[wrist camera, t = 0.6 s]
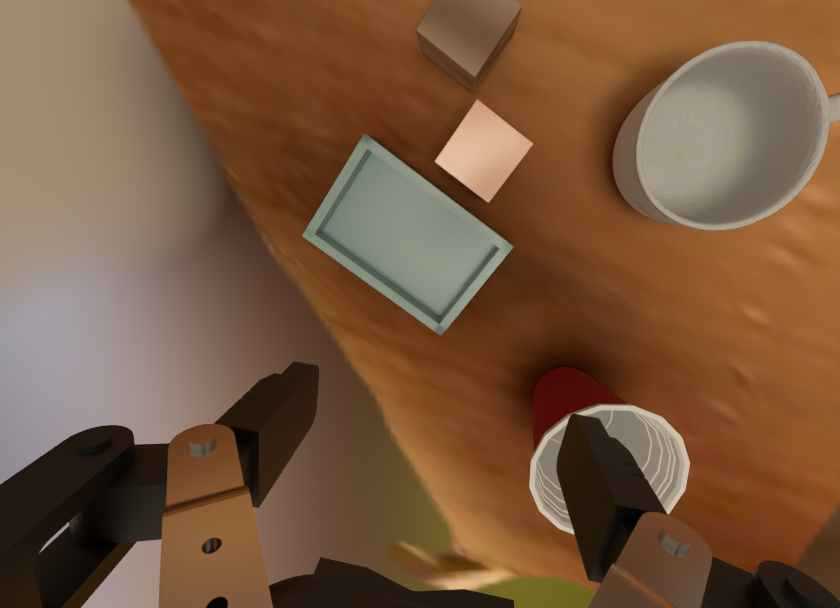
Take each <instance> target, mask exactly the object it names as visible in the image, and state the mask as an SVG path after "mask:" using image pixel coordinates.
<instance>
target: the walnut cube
mask: <svg viewBox="0 0 840 608" xmlns="http://www.w3.org/2000/svg"><path fill="white" fill-rule="evenodd" d="M522 6H523V5H522V4H521V3H519V2H518V1H517V0H434V1H433V2H432V4H431V6H430V7H429V9H428V11H427V12H426V14H425V16H424V17H423V19H422V21H421V22H420V24H419V26H418V27H417V29H416V32H417V35H418V39H419V42H420V46H421V49H422V52H423V54H424V55H425V56H426V57H427V58H429V59H430V60H431V61H432V62H434V63H435V64H436V65H437V66H439V67H440V68H441V69H442V70H444V71H445V72H446V73H447V74H449V75H450V76H451V77H452V78H454V79H455V80H456V81H458V82H459V83H460V84H461V85H463V86H464V87H465V88H466V89H468V90H469V91H470V92H471V93H474V91H475V90H476V88H477V87H478V86H479V84H480V83H481V81H482V80H483V78H484V77H485V75H486V74H487V72H488V71H489V69H490V68H491V66H492V65H493V63H494V62H495V60H496V59H497V57H498V56H499V54H500V53H501V52H502V50H503V49H504V47H505V46H506V44H507V43H508V41H509V40H510V38H511V37H512V35H513V33H514V30H515V27H516V24H517V21H518V18H519V15H520V12H521V9H522Z"/></svg>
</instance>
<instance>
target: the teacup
mask: <svg viewBox="0 0 840 608" xmlns="http://www.w3.org/2000/svg"><path fill="white" fill-rule="evenodd" d="M838 121H840V93H837V94H834V95H831V96H827V93H826V91H825V88H824V86H823V84H822V82H821V81H820V79H819V76H818V74H817V72H816V71H815V69H814V68H813V67H812V66H811V64H810V63H809V62H808V61H807V60H806V59H804V58H803V57H802V56H800V55H799V54H797V53H796V52H794V51H793V50H791V49H789V48H787V47H784V46H781V45H779V44H775V43H771V42H765V41H738V42H732V43H727V44H723V45H720V46H717V47H714V48H712V49H710V50H707V51H705V52H703V53H701V54H699V55H697V56H696V57H694V58H692V59H691V60H689V61H687V62H686V63H685V64H684V65H682V66H681V67H680V68H678V69H677V70H676V71H675V72H674V73H673V74H672V75H671V76H670V77H669V78H667V79H666V80H664V81H663V82H662V83H660V84H659V85H658V86H657V87H655V88H654V89H653V90H652V91H650V92H649V93H648V94H647V95H646V96H645V97H644V98H643V99H642V100H641V101H640V102H639V103H638V104H637V105H636V106H635V107H634V108H633V110H632V111H631V112H630V114H629V115H628V116H627V118H626V120H625V121H624V123H623V125H622V127H621V129H620V131H619V134H618V136H617V139H616V142H615V146H614V151H613V173H614V178H615V182H616V184H617V187H618V189H619V191H620V193H621V195H622V196H623V197H624V199H625V200H626V201H627V202H628V203H629V205H630V206H632V207H633V208H634V209H635V210H636V211H638V212H639V213H641V214H642V215H644V216H646V217H648V218H651V219H653V220H656V221H659V222H663V223H667V224H673V225H679V226H686V227H690V228H694V229H699V230H711V231H722V230H729V229H735V228H740V227H744V226H746V225H749V224H753V223H754V222H756V221H758V220H761V219H763V218H765V217H767V216H770V215H771V214H772V213H774V212H776V211H777V210H779V209H780V208H782V207H783V206H785V205H786V204H787V203H789V202H790V201H791V200H792V199H793V198H794V197H795V196H796V195H797V194H798V193H799V192H800V191H801V190H802V189H803V187H804V186H805V185H806V184H807V182H808V181H809V180H810V178H811V177H812V176H813V173H814V172H815V170H816V168H817V167H818V165H819V163H820V160H821V158H822V156H823V153H824V150H825V146H826V142H827V138H828V132H829V127H830V124H831V123H834V122H838Z"/></svg>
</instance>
